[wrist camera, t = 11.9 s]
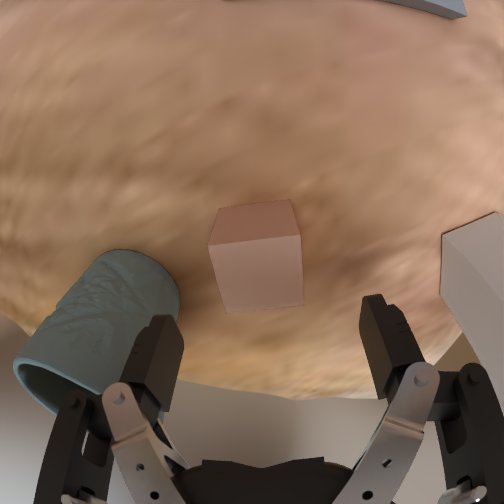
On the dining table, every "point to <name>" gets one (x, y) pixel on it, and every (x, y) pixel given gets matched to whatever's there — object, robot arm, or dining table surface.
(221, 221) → the terracotta block
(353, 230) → the dining table surface
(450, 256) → the milk carton
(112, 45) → the dining table surface
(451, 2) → the base board
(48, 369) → the teal cup
